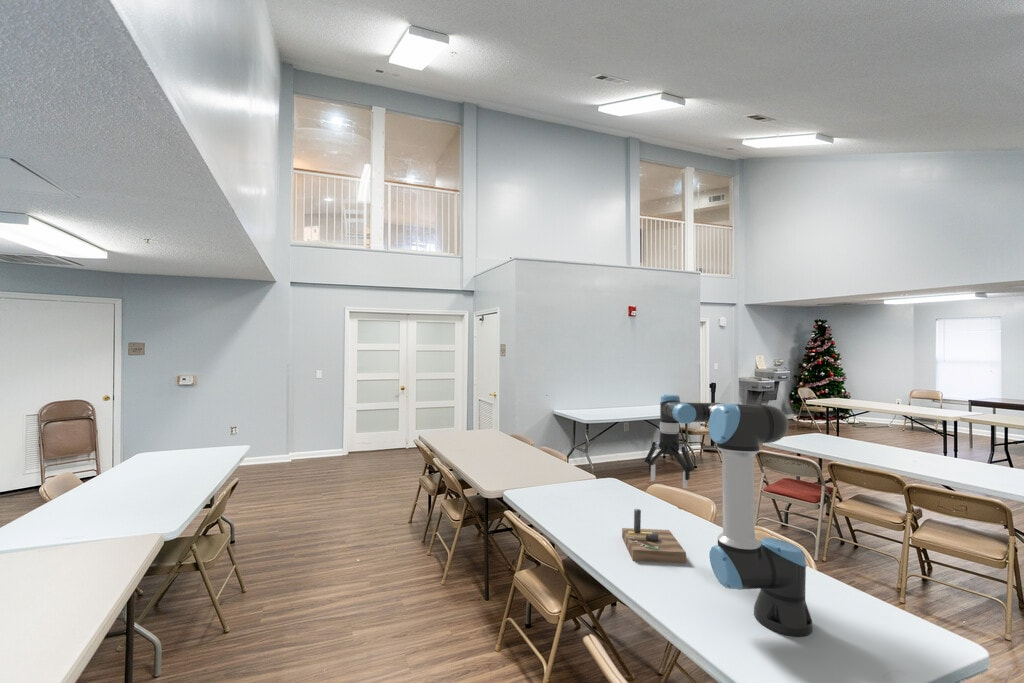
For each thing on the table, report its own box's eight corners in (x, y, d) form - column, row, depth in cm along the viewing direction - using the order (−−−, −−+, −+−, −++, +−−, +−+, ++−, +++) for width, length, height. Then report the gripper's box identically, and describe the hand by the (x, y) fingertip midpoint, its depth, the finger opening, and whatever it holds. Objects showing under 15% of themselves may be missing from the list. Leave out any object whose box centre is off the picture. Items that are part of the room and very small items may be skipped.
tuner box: (685, 562, 174) (685, 551, 174) (632, 560, 175) (632, 549, 175) (669, 539, 196) (669, 529, 196) (621, 537, 197) (622, 527, 197)
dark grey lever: (659, 541, 183) (660, 513, 183) (629, 540, 183) (630, 511, 184) (656, 536, 188) (657, 508, 188) (627, 535, 188) (627, 507, 189)
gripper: (703, 435, 182) (702, 488, 182) (645, 427, 199) (644, 475, 199) (696, 437, 176) (695, 492, 176) (637, 429, 193) (636, 479, 193)
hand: (668, 483), depth 187 cm, fingers open, 13 cm apart
